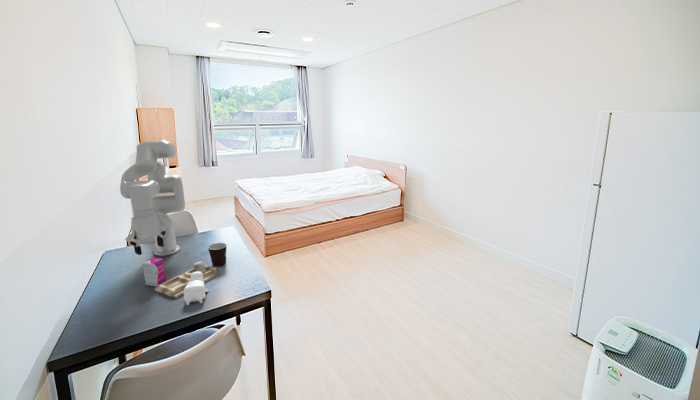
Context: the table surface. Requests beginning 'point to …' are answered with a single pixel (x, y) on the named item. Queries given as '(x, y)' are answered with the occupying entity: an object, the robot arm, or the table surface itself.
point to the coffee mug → (218, 254)
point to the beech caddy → (186, 280)
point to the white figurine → (195, 288)
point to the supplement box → (154, 272)
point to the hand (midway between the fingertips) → (150, 250)
